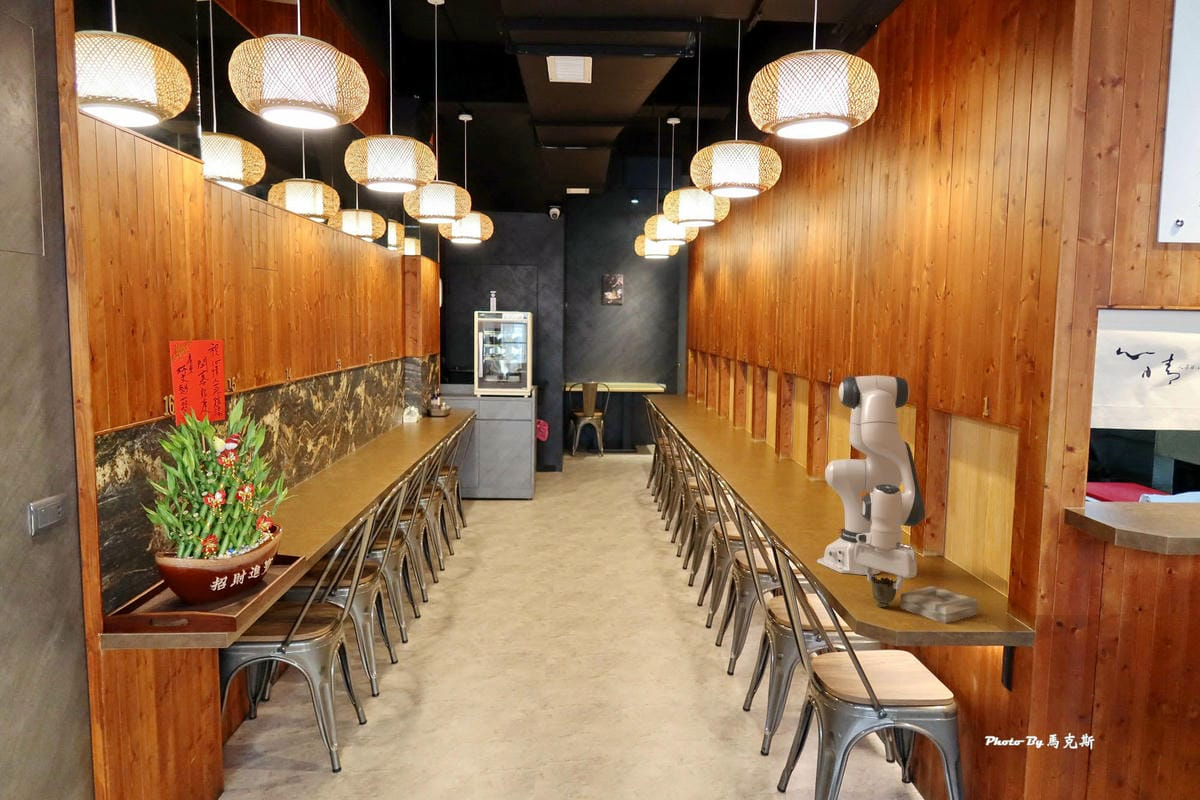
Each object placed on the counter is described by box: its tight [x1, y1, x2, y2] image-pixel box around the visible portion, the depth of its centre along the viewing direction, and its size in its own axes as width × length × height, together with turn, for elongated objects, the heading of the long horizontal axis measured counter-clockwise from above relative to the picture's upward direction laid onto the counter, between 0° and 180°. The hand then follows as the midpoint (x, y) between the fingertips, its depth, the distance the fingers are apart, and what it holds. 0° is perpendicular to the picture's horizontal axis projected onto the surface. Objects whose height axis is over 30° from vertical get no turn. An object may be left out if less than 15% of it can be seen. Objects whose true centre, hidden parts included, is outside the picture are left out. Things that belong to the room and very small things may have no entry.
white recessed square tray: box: [899, 585, 979, 624], centre depth 232 cm, size 15×15×5 cm
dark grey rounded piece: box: [871, 576, 897, 609], centre depth 236 cm, size 8×7×8 cm
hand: (884, 585), depth 235 cm, fingers open, 8 cm apart
